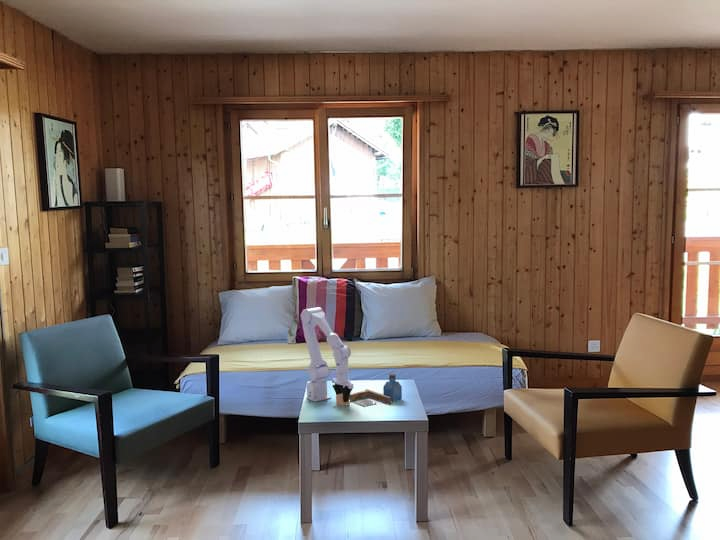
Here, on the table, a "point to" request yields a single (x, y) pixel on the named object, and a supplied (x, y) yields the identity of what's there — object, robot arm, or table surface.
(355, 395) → the corner arena
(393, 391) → the perfume bottle
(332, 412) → the table surface
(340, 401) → the terracotta cube
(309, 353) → the robot arm
